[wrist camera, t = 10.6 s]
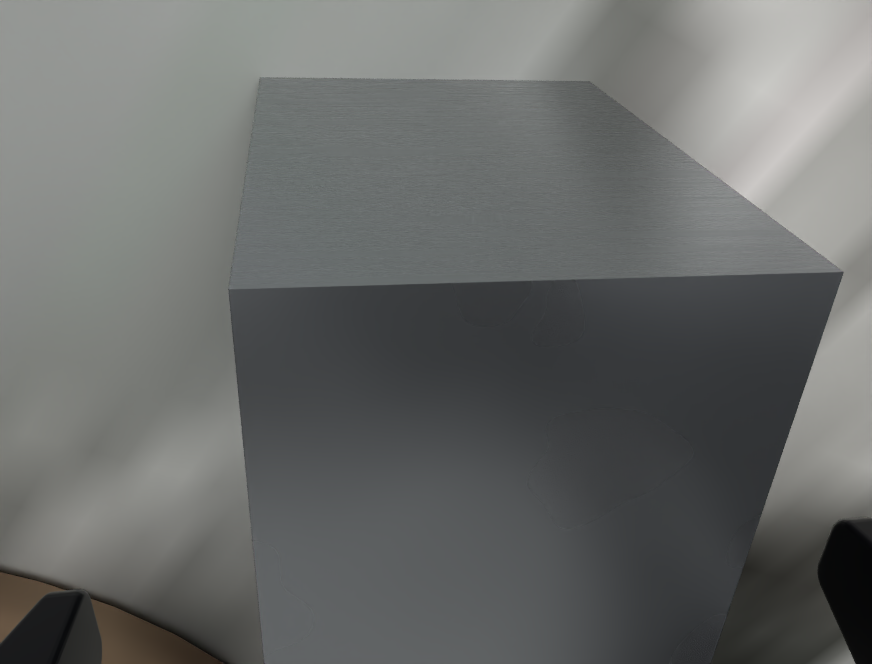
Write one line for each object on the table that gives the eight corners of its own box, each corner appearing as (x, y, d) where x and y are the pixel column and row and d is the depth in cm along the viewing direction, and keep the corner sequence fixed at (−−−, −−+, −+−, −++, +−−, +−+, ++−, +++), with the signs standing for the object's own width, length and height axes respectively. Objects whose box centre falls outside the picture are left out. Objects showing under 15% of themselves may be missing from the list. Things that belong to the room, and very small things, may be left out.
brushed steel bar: (260, 75, 10) (225, 300, 5) (587, 79, 11) (855, 281, 6) (291, 570, 15) (291, 958, 10) (521, 551, 15) (637, 905, 10)
